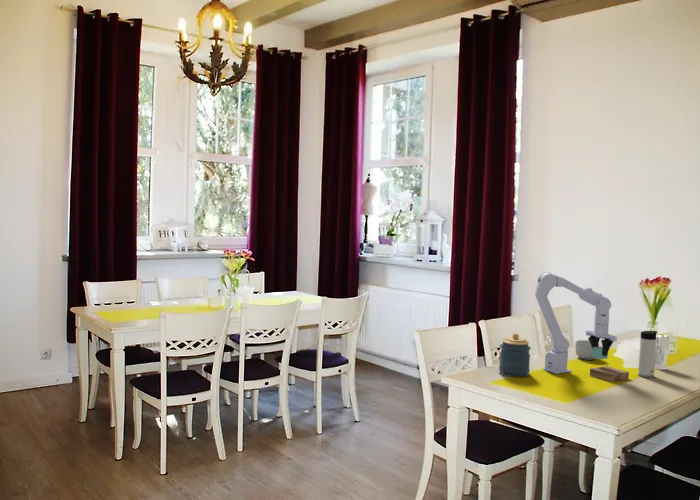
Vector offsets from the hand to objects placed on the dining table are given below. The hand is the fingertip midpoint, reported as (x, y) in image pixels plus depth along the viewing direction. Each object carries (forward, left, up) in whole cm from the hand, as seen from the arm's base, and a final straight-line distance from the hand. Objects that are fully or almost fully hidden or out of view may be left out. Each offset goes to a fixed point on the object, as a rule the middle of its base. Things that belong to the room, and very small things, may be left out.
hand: (599, 354), depth 280 cm
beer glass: (+34, -6, -9) cm, 35 cm away
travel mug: (+16, -12, -9) cm, 22 cm away
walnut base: (-1, -6, -9) cm, 11 cm away
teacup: (+19, +23, -9) cm, 31 cm away
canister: (-35, +16, -9) cm, 40 cm away
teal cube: (0, 0, -2) cm, 2 cm away
